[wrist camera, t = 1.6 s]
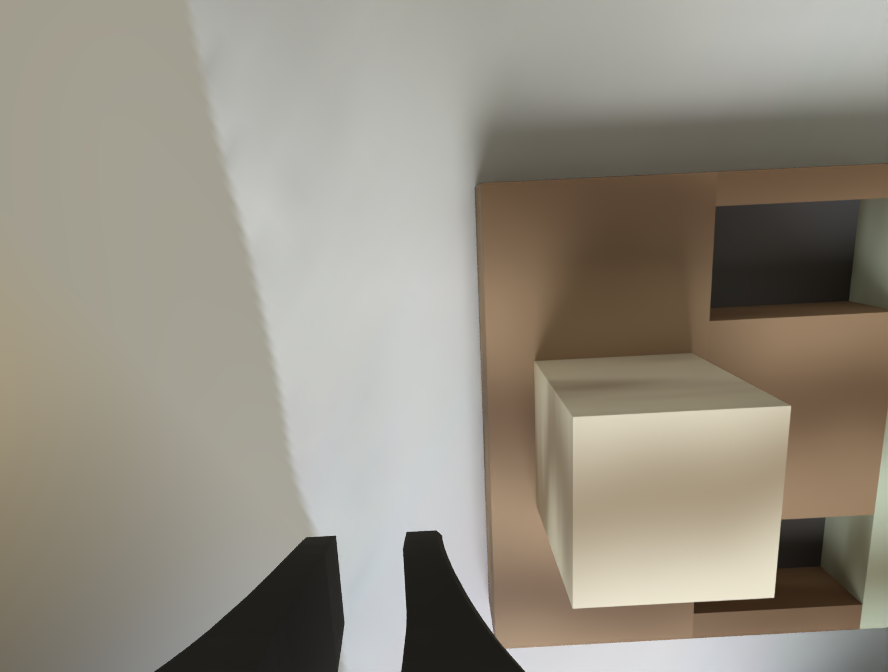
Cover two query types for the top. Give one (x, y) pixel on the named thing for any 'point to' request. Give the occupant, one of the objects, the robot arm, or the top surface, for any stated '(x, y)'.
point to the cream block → (658, 479)
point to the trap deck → (711, 338)
